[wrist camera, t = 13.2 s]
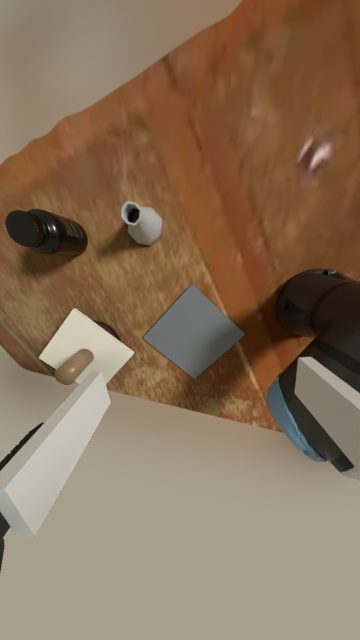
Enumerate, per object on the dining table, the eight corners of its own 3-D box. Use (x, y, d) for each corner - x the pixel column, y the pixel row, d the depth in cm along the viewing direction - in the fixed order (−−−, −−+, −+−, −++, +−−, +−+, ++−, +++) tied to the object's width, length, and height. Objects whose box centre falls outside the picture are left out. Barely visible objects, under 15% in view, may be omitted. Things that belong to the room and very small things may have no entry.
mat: (245, 333, 42) (245, 334, 42) (194, 378, 47) (194, 379, 46) (191, 283, 39) (191, 284, 38) (142, 337, 43) (142, 338, 43)
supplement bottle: (55, 216, 35) (-7, 195, 24) (89, 223, 35) (44, 205, 24) (57, 252, 37) (1, 248, 26) (88, 258, 37) (47, 257, 26)
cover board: (134, 352, 38) (122, 374, 30) (97, 392, 42) (79, 420, 34) (75, 308, 35) (46, 320, 27) (41, 356, 39) (7, 378, 31)
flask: (153, 252, 37) (143, 248, 27) (122, 234, 36) (100, 225, 26) (168, 217, 35) (163, 201, 25) (135, 198, 34) (116, 173, 24)
